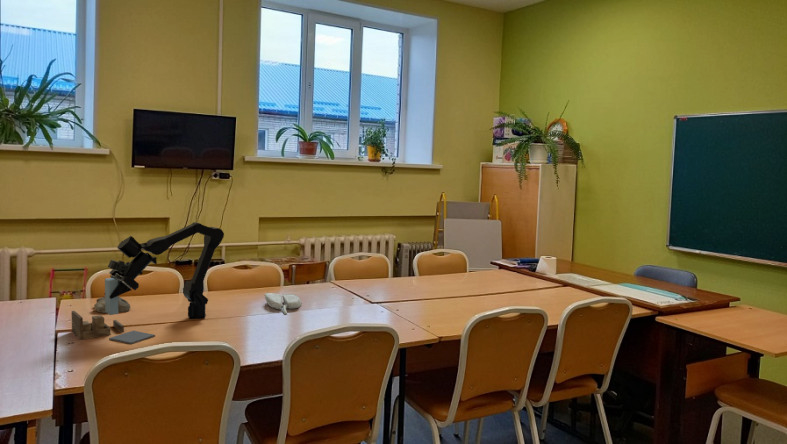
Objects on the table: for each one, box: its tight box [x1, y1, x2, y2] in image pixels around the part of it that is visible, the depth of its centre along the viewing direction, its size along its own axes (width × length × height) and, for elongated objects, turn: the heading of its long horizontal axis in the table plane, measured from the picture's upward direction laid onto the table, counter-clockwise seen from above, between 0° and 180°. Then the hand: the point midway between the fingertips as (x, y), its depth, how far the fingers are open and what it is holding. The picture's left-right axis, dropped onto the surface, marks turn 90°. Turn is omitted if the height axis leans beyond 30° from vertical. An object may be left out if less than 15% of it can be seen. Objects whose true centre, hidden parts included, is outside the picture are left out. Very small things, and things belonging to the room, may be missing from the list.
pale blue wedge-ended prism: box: [104, 277, 119, 316], centre depth 222 cm, size 3×6×13 cm, turn 41°
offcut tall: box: [91, 314, 105, 330], centre depth 220 cm, size 3×5×6 cm, turn 41°
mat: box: [108, 330, 156, 345], centre depth 215 cm, size 11×11×1 cm
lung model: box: [264, 292, 302, 315], centre depth 267 cm, size 7×17×25 cm
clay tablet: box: [93, 295, 131, 314], centre depth 257 cm, size 14×5×20 cm
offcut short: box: [83, 320, 91, 332], centre depth 217 cm, size 3×5×4 cm, turn 42°
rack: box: [71, 310, 125, 340], centre depth 220 cm, size 15×12×8 cm
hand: (107, 296), depth 221 cm, fingers closed on pale blue wedge-ended prism, 6 cm apart
